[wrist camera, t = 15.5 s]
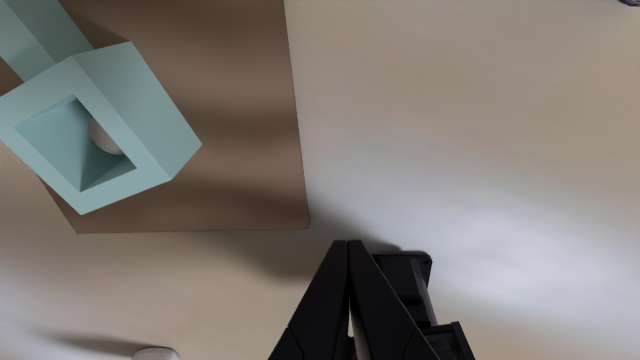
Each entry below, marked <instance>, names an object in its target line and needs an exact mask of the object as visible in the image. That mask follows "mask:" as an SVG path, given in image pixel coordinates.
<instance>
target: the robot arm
mask: <svg viewBox="0 0 640 360" xmlns="http://www.w3.org/2000/svg"><path fill="white" fill-rule="evenodd" d="M425 260H426V261H425ZM431 266H432V259H431V257H430V256H429V255H371V254H370V253H369V251H368V250H367V248H366V247H365V245H364V244H363V242H362V241H361V240H360V239H349V240H348V246H347V240H334V241H333V243H332V245H331V246H330V248H329V250H328V252H327V254H326V256H325V257H324V259H323V261H322V263H321V265H320V267H319V268H318V270H317V272H316V274H315V276H314V278H313V279H312V281H311V283H310V285H309V287H308V289H307V290H306V292H305V294H304V296H303V298H302V300H301V301H300V303H299V305H298V307H297V309H296V311H295V312H294V314H293V316H292V318H291V320H290V321H289V323H288V325H287V326H288V327H287V328H286V329H285V330H284V332H283V334H282V336H281V338H280V340H279V341H278V343H277V345H276V346H275V348H274V350H273V351H272V353H271V355H270V357H269V358H268V360H475V358H474V355H473V353H472V351H471V348H470V346H469V344H468V342H467V339H466V337H465V335H464V332H463V330H462V328H461V325H460V323H459V321H456V322H451V324H444V325H438V324H437V321H436V317H435V314H434V311H433V307H432V304H431V301H430V297H429V294H428V291H427V288H428V282H429V277H430V272H431ZM349 299H350V309H349ZM349 311H350V313H351V321H352V327H353V333H354V337H350V336H348V325H349Z"/></svg>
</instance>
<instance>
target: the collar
mask: <svg viewBox="0 0 640 360" xmlns="http://www.w3.org/2000/svg"><path fill="white" fill-rule="evenodd" d="M0 56H1V57H2V58H3V59H4V60H5V62H6V63H7V64H8V65H9V66H10V67H11V68H12V69H13V70H14V71H15V72H16V74H17V75H18V76H19V77H20V78H21V79H22V80H23V81H24V82H25V83H23V84H22V85H20V86H18V87H17V88H15V89H13V90H11V91H10V92H8V93H6V94H5V95H3V96H1V97H0V140H1V141H2V142H3V143H4V144H6V145H7V146H8V147H9V148H10V149H11V150H12V151H13V152H14V153H15V154H16V155H17V156H18V157H19V158H20V159H22V160H23V161H24V162H25V163H26V164H27V165H28V166H29V167H30V168H31V169H32V170H33V171H34V172H35V173H36V174H38V175H39V176H40V177H41V178H42V179H43V180H44V181H45V182H46V183H47V184H48V185H49V186H50V187H51V188H52V189H54V190H55V191H56V192H57V193H58V194H59V195H60V196H61V197H62V198H63V199H64V200H65V201H66V202H67V203H69V204H70V205H71V206H72V207H73V208H74V209H75V210H76V211H77V212H78V213H79V214H80V215H83V214H86V213H88V212H91V211H93V210H96V209H98V208H101V207H103V206H106V205H108V204H111V203H114V202H116V201H119V200H121V199H124V198H126V197H129V196H131V195H134V194H137V193H139V192H142V191H144V190H147V189H149V188H152V187H154V186H157V185H159V184H162V183H165V182H167V181H170V180H172V179H173V177H174V176H175V175H176V174H177V173H178V172H179V171H180V170H181V168H182V167H183V166H184V165H185V164H186V163H187V162H188V160H189V159H190V158H191V157H192V156H193V155H194V154H195V152H196V151H197V150H198V149H199V148H200V147H201V146H202V143H201V142H200V140H199V139H198V137H197V136H196V134H195V133H194V131H193V130H192V129H191V127H190V126H189V124H188V123H187V121H186V120H185V119H184V117H183V116H182V114H181V113H180V111H179V110H178V108H177V107H176V106H175V104H174V103H173V101H172V100H171V98H170V97H169V95H168V94H167V93H166V91H165V90H164V88H163V87H162V85H161V84H160V82H159V81H158V80H157V78H156V77H155V75H154V74H153V72H152V71H151V69H150V68H149V67H148V65H147V64H146V62H145V61H144V59H143V58H142V56H141V55H140V54H139V52H138V51H137V49H136V48H135V46H134V45H133V44H132V42H131V41H129V42H125V43H120V44H116V45H112V46H108V47H104V48H100V49H96V50H95V49H94V48H93V46H92V45H91V44H90V42H89V41H88V40H87V38H86V37H85V36H84V34H83V33H82V32H81V31H80V29H79V28H78V27H77V25H76V24H75V23H74V21H73V20H72V19H71V17H70V16H69V15H68V13H67V12H66V11H65V9H64V8H63V7H62V6H61V4H60V3H59V2H58V0H0ZM78 100H79V101H80V102H81V103H82V104H83V105H84V107H85V108H86V109H87V110H88V111H89V112H90V114H91V115H92V116H93V117H94V118H95V119H96V121H97V122H98V123H99V124H100V125H101V126H102V128H103V129H104V130H105V131H106V132H107V133H108V135H109V136H110V137H111V138H112V139H113V140H114V142H115V143H116V144H117V145H118V146H119V147H120V149H121V150H122V151H123V152H124V153H125V155H126V156H125V155H124V154H123V155H114V154H111V153H108V152H106V151H104V150H102V149H101V148H100V147H98V146H97V145H96V144H95V143H94V142H93V140H92V139H91V137H90V135H89V132H88V124H89V121H90V120H91V119H92V118H93V117H92V116H91V115H90V114H89V113H88V112H87V110H86V109H85V108H84V107H83V106H82V105H81V103H80V102H79V101H78Z"/></svg>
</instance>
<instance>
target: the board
mask: <svg viewBox="0 0 640 360" xmlns="http://www.w3.org/2000/svg"><path fill="white" fill-rule="evenodd" d="M58 2H59V3H60V4H61V6H62V7H63V8H64V9H65V11H66V12H67V13H68V15H69V16H70V17H71V19H72V20H73V21H74V23H75V24H76V25H77V27H78V28H79V29H80V31H81V32H82V33H83V34H84V36H85V37H86V38H87V40H88V41H89V42H90V44H91V45H92V46H93V48H94V49H95V50H96V49H100V48H104V47H108V46H112V45H116V44H120V43H125V42H129V41H131V42H132V44H133V45H134V46H135V48H136V49H137V51H138V52H139V54H140V55H141V56H142V58H143V59H144V61H145V62H146V64H147V65H148V67H149V68H150V69H151V71H152V72H153V74H154V75H155V77H156V78H157V80H158V81H159V82H160V84H161V85H162V87H163V88H164V90H165V91H166V93H167V94H168V95H169V97H170V98H171V100H172V101H173V103H174V104H175V106H176V107H177V108H178V110H179V111H180V113H181V114H182V116H183V117H184V119H185V120H186V121H187V123H188V124H189V126H190V127H191V129H192V130H193V131H194V133H195V134H196V136H197V137H198V139H199V140H200V142H201V143H202V146H201V147H200V148H199V149H198V150H197V151H196V152H195V154H194V155H193V156H192V157H191V158H190V159H189V160H188V162H187V163H186V164H185V165H184V166H183V167H182V168H181V170H180V171H179V172H178V173H177V174H176V175H175V176H174V177H173V179H172V180H170V181H167V182H165V183H162V184H159V185H157V186H154V187H152V188H149V189H147V190H144V191H142V192H139V193H137V194H134V195H131V196H129V197H126V198H124V199H121V200H119V201H116V202H114V203H111V204H108V205H106V206H103V207H101V208H98V209H96V210H93V211H91V212H88V213H86V214H83V215H80V214H79V213H78V212H77V211H76V210H75V209H74V208H73V207H72V206H71V205H70V204H69V203H67V202H66V201H65V200H64V199H63V198H62V197H61V196H60V195H59V194H58V193H57V192H56V191H55V190H54V189H52V188H51V187H50V186H49V185H48V184H47V183H46V182H45V181H44V180H43V179H42V178H41V177H40V176H39V175H38V174H37V176H38V177H39V179H40V180H41V181H42V183H43V184H44V186H45V187H46V189H47V190H48V192H49V193H50V195H51V196H52V198H53V199H54V201H55V202H56V204H57V205H58V207H59V208H60V210H61V211H62V212H63V214H64V215H65V217H66V218H67V220H68V221H69V223H70V224H71V226H72V227H73V229H74V230H75V232H76V233H77V234H84V233H131V232H177V231H224V230H270V229H309V213H308V205H307V196H306V188H305V179H304V171H303V162H302V154H301V145H300V137H299V128H298V120H297V111H296V103H295V94H294V86H293V77H292V69H291V60H290V52H289V43H288V35H287V26H286V18H285V9H284V1H283V0H58ZM23 83H25V82H24V81H23V80H22V79H21V78H20V77H19V76H18V75H17V74H16V72H15V71H14V70H13V69H12V68H11V67H10V66H9V65H8V64H7V63H6V62H5V60H4V59H3V58H2V57H1V56H0V97H1V96H3V95H5V94H6V93H8V92H10V91H11V90H13V89H15V88H17V87H18V86H20V85H22V84H23ZM78 101H79V100H78ZM79 102H80V101H79ZM80 103H81V102H80ZM81 105H82V106H83V107H84V105H83V104H82V103H81ZM84 108H85V107H84ZM85 109H86V108H85ZM86 110H87V109H86ZM87 112H88V113H89V114H90V112H89V111H88V110H87ZM90 115H91V114H90ZM91 116H92V115H91ZM92 117H93V116H92ZM88 132H89V135H90V137H91V139H92V140H93V142H94V143H95V144H96V145H97V146H98V147H100V148H101V149H102V150H104V151H106V152H108V153H111V154H114V155H123V154H124V155H125V153H124V152H123V151H122V150H121V149H120V147H119V146H118V145H117V144H116V143H115V142H114V140H113V139H112V138H111V137H110V136H109V135H108V133H107V132H106V131H105V130H104V129H103V128H102V126H101V125H100V124H99V123H98V122H97V121H96V119H95V118H94V117H93V118H92V119H91V120H90V121H89V124H88ZM125 156H126V155H125Z"/></svg>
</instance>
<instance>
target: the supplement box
mask: <svg viewBox="0 0 640 360" xmlns="http://www.w3.org/2000/svg"><path fill="white" fill-rule="evenodd" d="M621 1H622V2H623V3H625V4H626V5H628V6H636V7H640V0H621Z"/></svg>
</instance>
